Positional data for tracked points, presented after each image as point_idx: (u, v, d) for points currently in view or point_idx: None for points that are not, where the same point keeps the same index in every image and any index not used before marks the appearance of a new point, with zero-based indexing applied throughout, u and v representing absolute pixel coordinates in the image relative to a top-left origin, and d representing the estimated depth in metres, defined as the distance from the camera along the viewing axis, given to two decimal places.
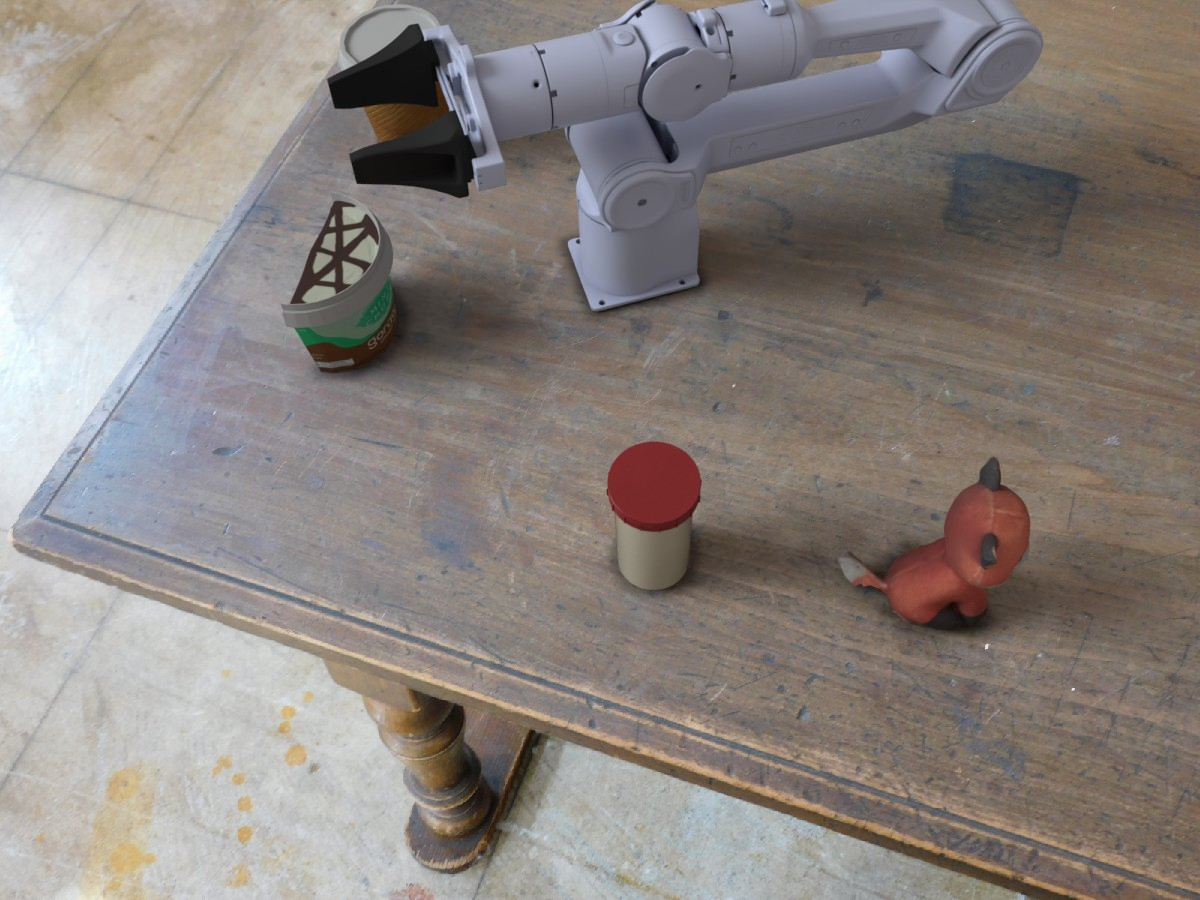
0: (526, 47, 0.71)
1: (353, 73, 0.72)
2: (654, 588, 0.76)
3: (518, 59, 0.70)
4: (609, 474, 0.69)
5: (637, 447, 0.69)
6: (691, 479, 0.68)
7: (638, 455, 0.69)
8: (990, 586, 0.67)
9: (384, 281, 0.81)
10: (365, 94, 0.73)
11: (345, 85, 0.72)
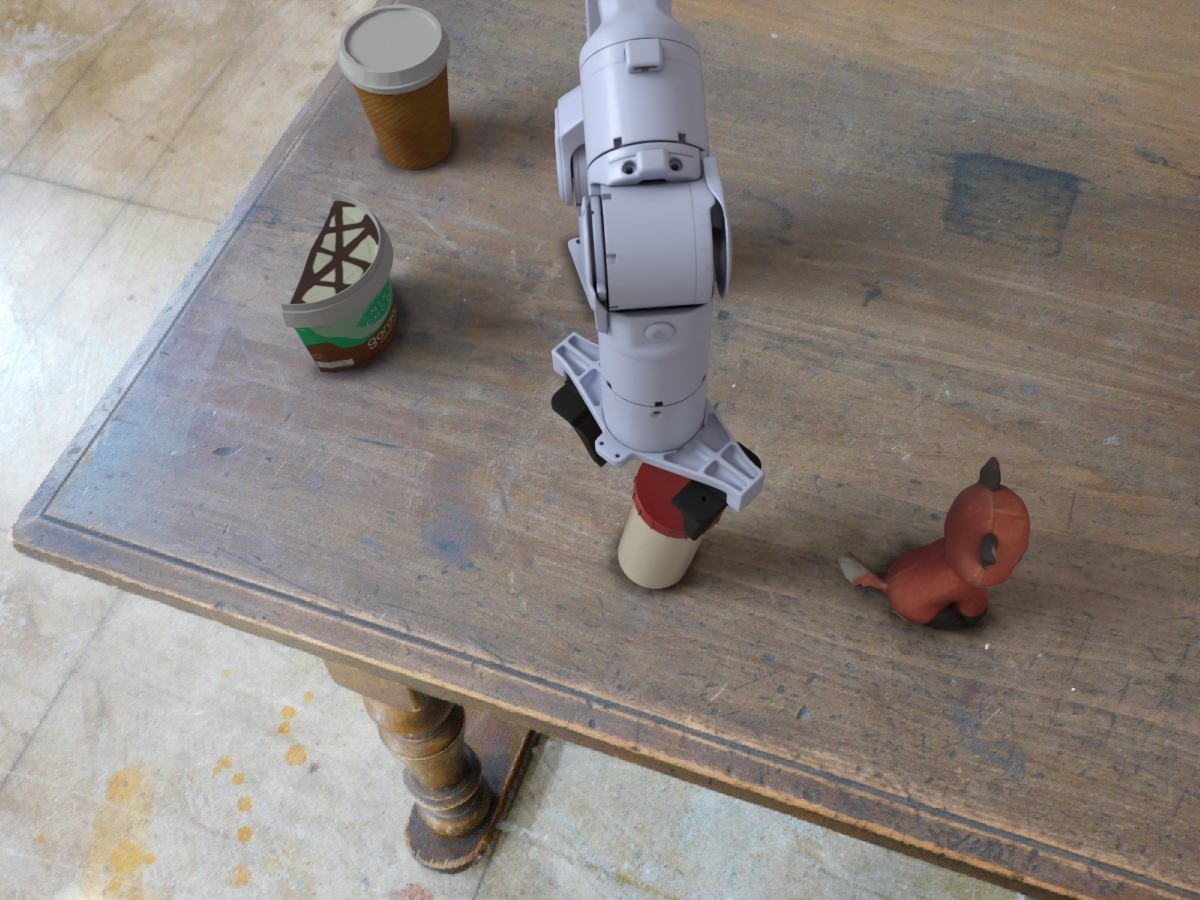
0: (606, 389, 0.57)
1: (595, 455, 0.68)
2: (655, 587, 0.76)
3: (621, 412, 0.57)
4: (637, 478, 0.68)
5: None
6: None
7: None
8: (990, 586, 0.67)
9: (384, 281, 0.81)
10: None
11: None
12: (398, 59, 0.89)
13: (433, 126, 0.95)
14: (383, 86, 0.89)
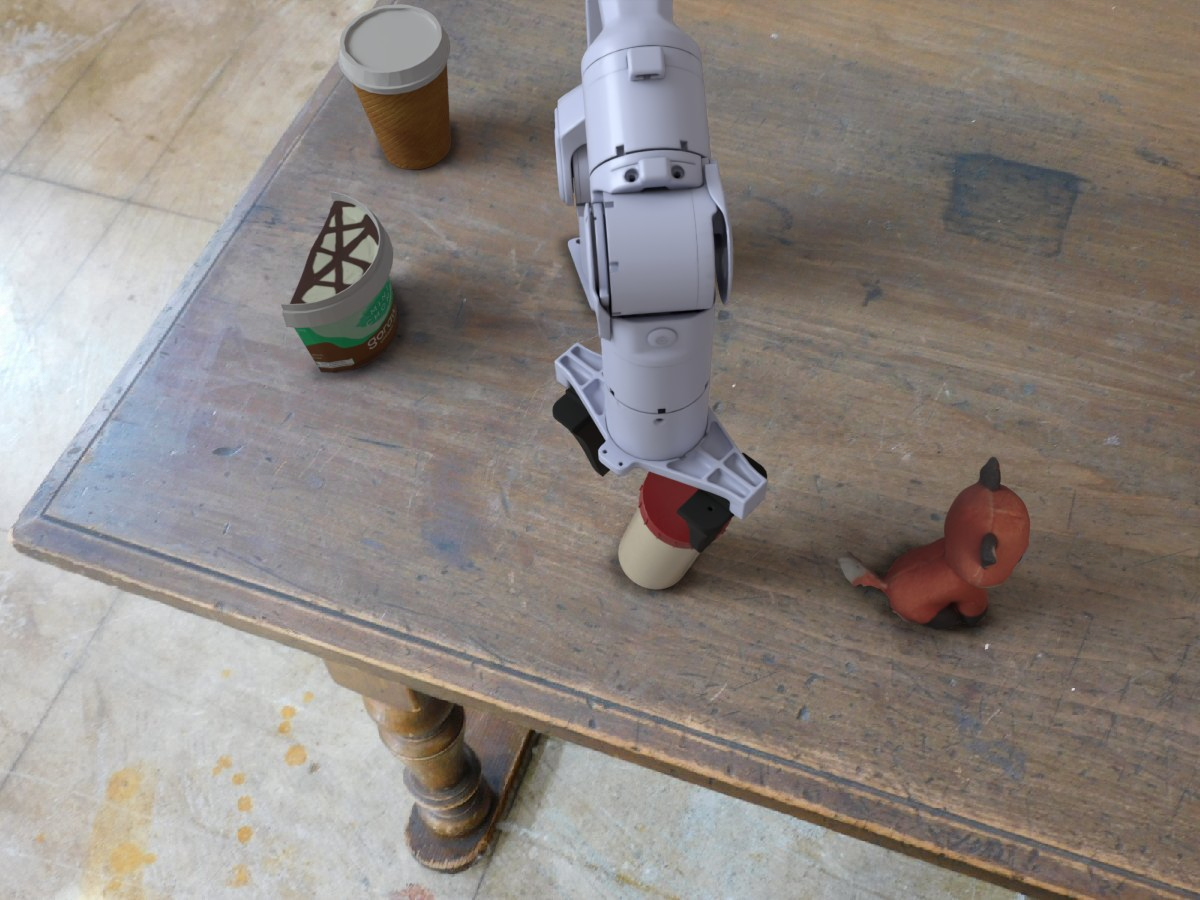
0: (609, 397, 0.57)
1: (596, 465, 0.68)
2: (655, 588, 0.76)
3: (624, 420, 0.57)
4: (644, 488, 0.67)
5: None
6: None
7: None
8: (990, 586, 0.67)
9: (384, 281, 0.81)
10: None
11: None
12: (398, 59, 0.89)
13: (433, 126, 0.95)
14: (383, 86, 0.89)
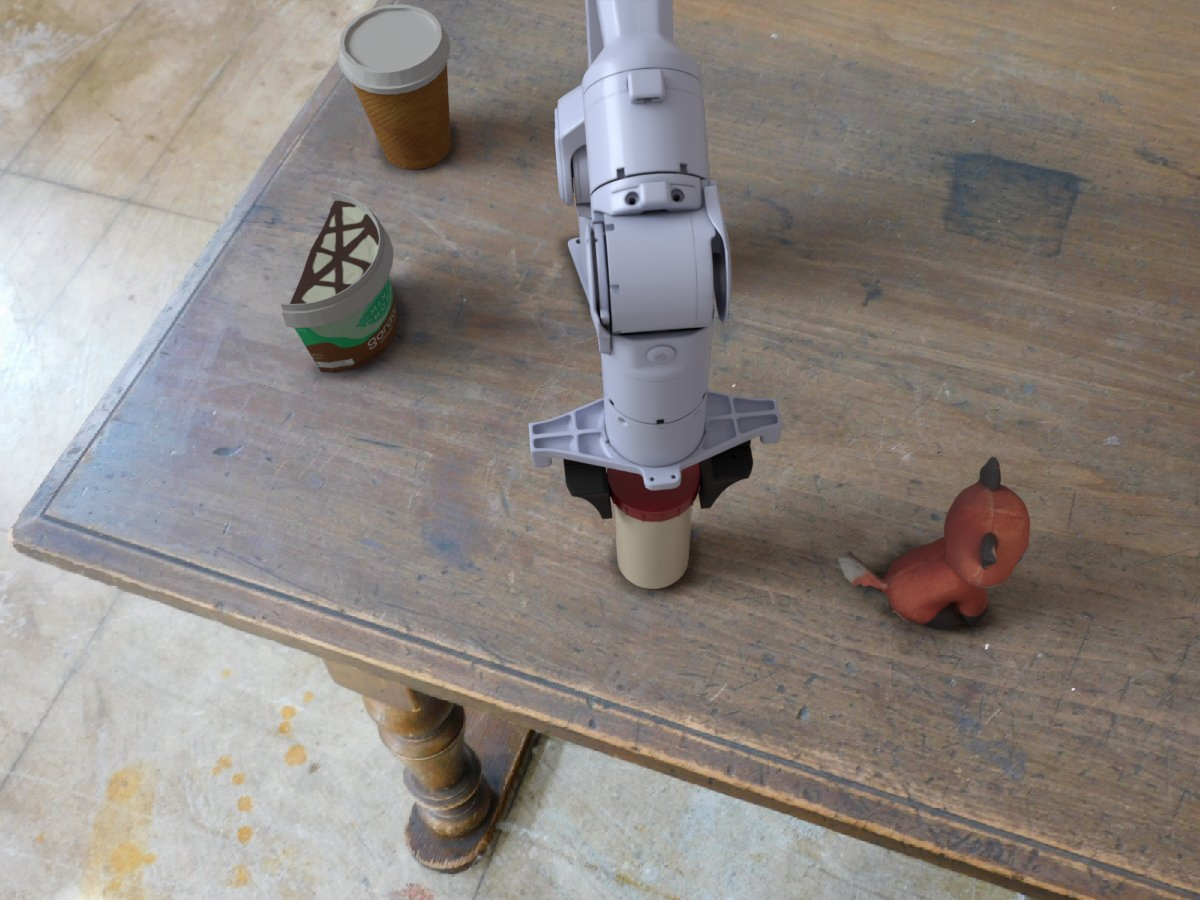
0: (644, 428, 0.57)
1: (610, 510, 0.68)
2: (653, 587, 0.76)
3: (666, 437, 0.58)
4: (617, 496, 0.67)
5: None
6: None
7: None
8: (990, 586, 0.67)
9: (384, 281, 0.81)
10: None
11: None
12: (398, 59, 0.89)
13: (433, 126, 0.95)
14: (383, 86, 0.89)
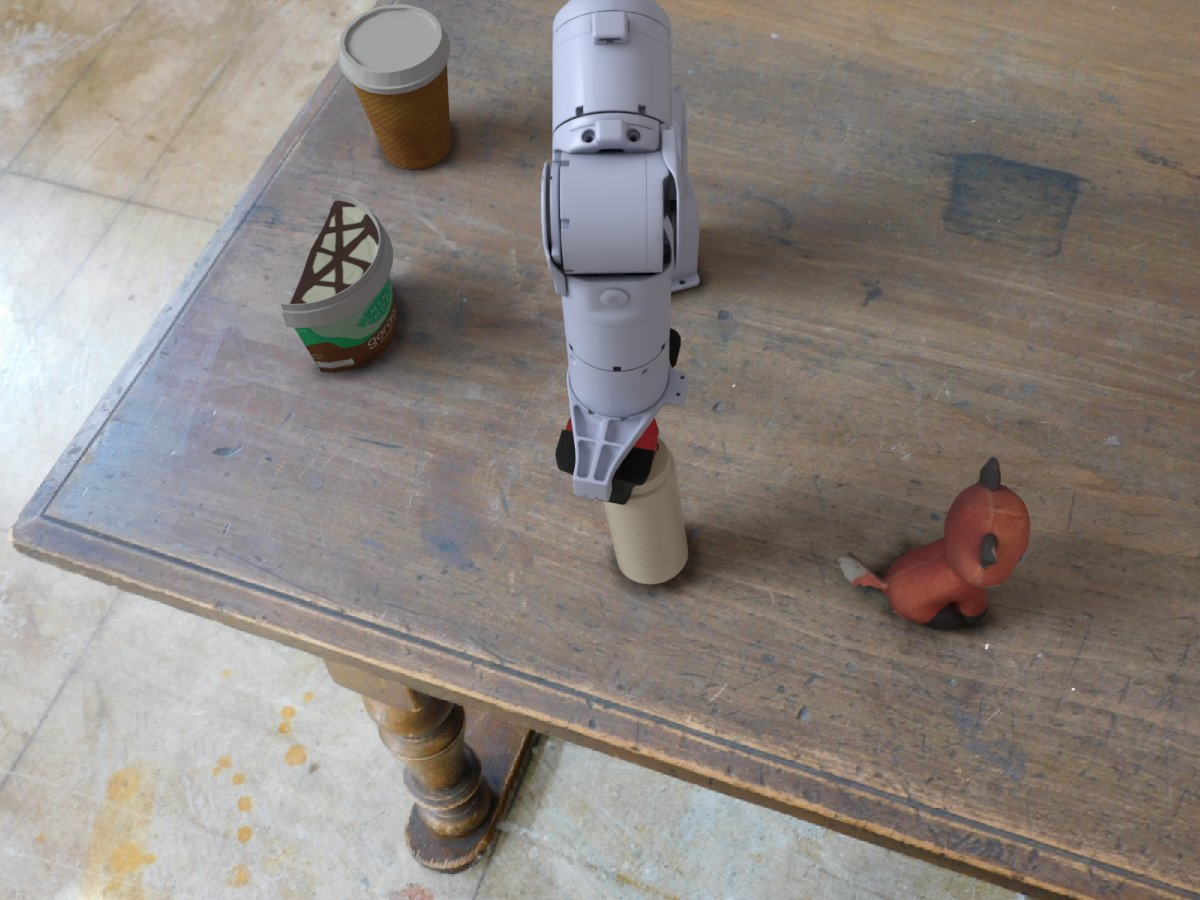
0: (662, 356, 0.58)
1: None
2: (652, 581, 0.76)
3: (668, 349, 0.59)
4: None
5: None
6: None
7: None
8: (990, 586, 0.67)
9: (384, 281, 0.81)
10: None
11: None
12: (398, 59, 0.89)
13: (433, 126, 0.95)
14: (383, 86, 0.89)
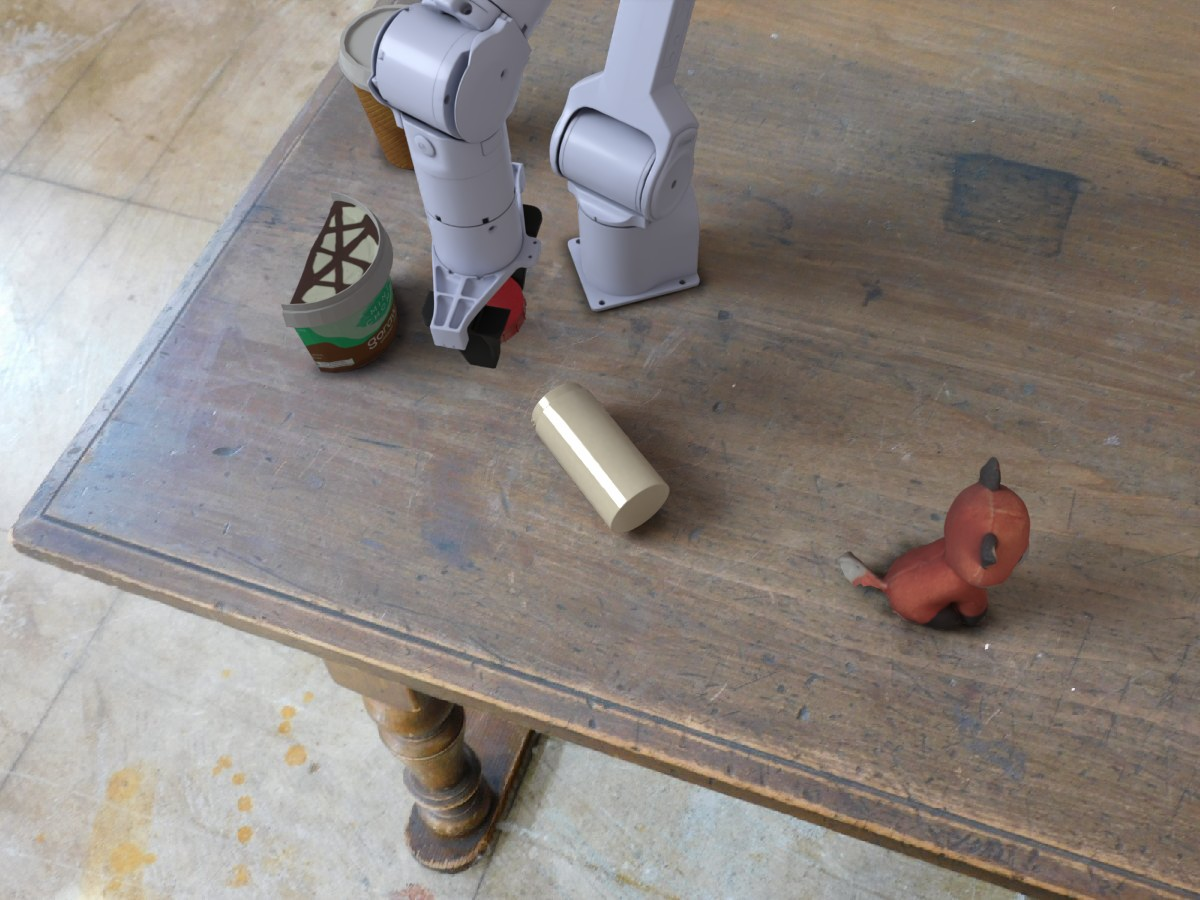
0: (508, 216, 0.65)
1: (500, 348, 0.74)
2: (627, 495, 0.75)
3: (516, 212, 0.66)
4: None
5: None
6: None
7: None
8: (990, 586, 0.67)
9: (384, 281, 0.81)
10: None
11: None
12: None
13: None
14: None
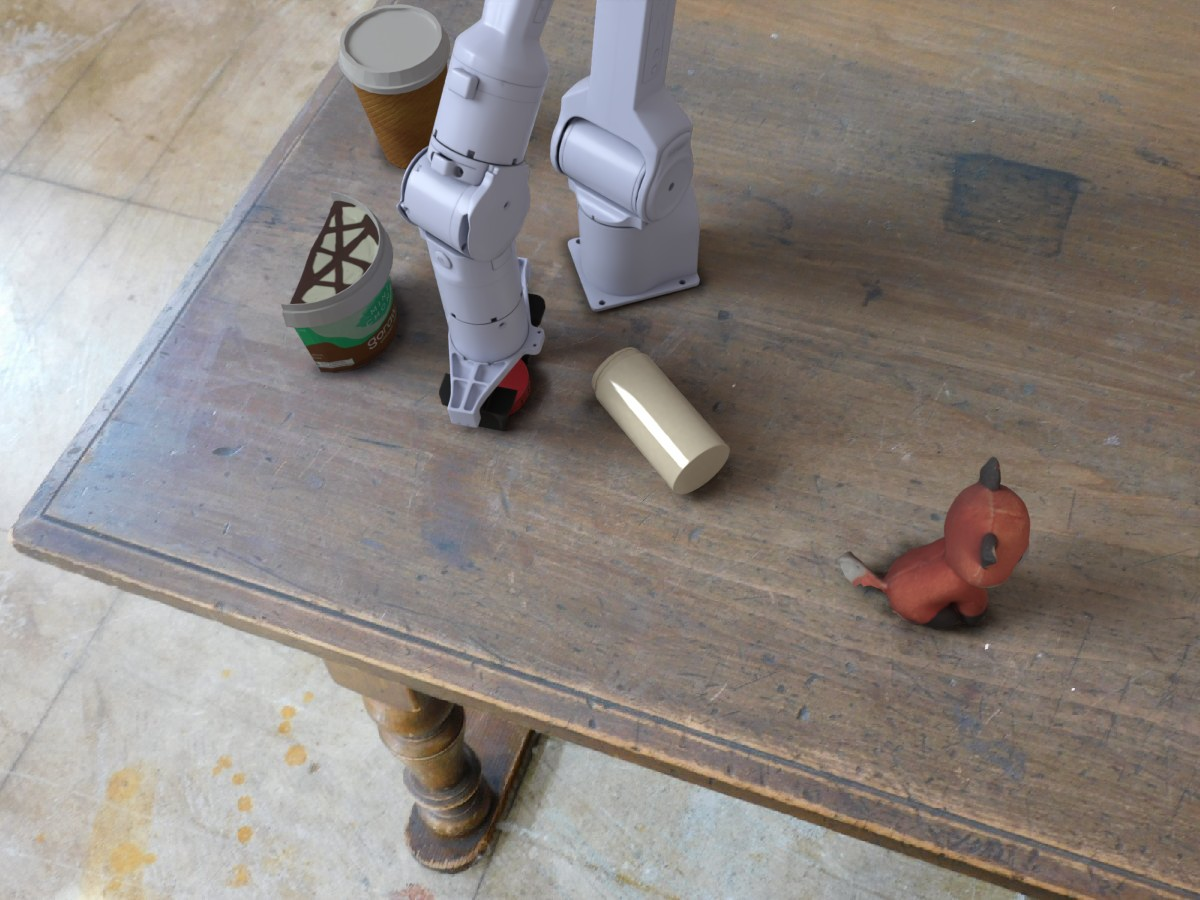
0: (516, 313, 0.75)
1: (507, 420, 0.84)
2: None
3: (523, 308, 0.76)
4: None
5: None
6: None
7: None
8: (990, 586, 0.67)
9: (384, 281, 0.81)
10: None
11: None
12: (398, 59, 0.89)
13: (433, 126, 0.95)
14: (383, 86, 0.89)
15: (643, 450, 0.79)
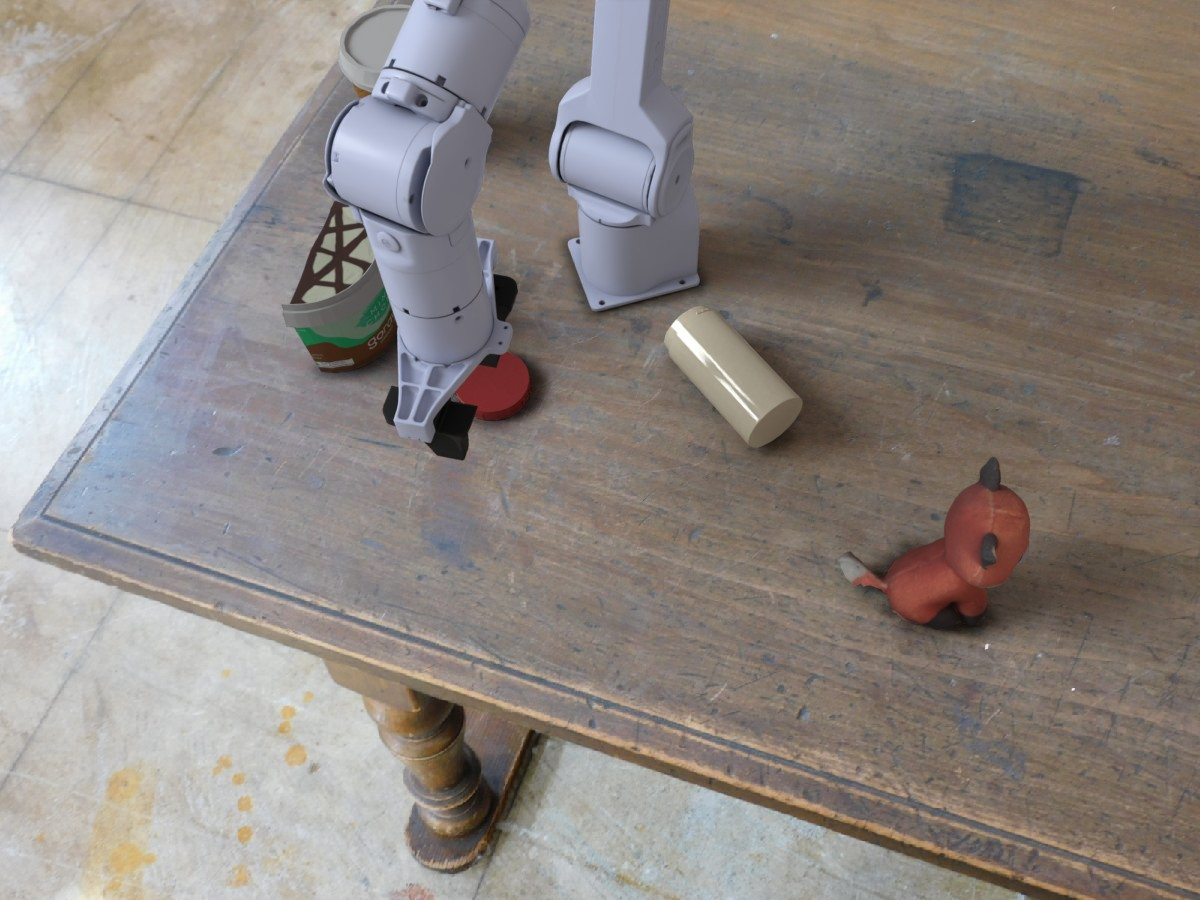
0: (475, 305, 0.62)
1: (468, 440, 0.70)
2: (745, 441, 0.80)
3: (485, 299, 0.63)
4: (500, 409, 0.83)
5: (467, 402, 0.84)
6: None
7: (474, 398, 0.84)
8: (990, 586, 0.67)
9: None
10: None
11: None
12: None
13: None
14: None
15: None
